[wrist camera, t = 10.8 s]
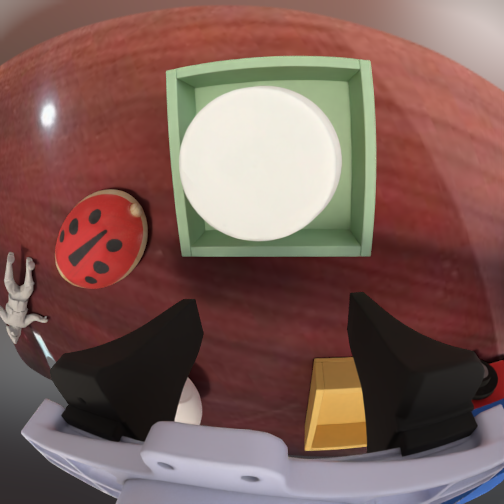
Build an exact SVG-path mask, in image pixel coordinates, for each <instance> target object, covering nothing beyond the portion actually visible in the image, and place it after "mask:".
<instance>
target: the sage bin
mask: <svg viewBox="0 0 504 504" xmlns="http://www.w3.org/2000/svg"><path fill="white" fill-rule="evenodd" d="M254 86H276V87H281V88H285V89H289V90H292V91H294V92H296V93H299V94H301V95H303V96H304V97H306V98H308V99H309V100H311V101H312V102H313V103H314V104H316V105H317V106H318V107H319V108H320V109H321V110H322V111H323V112H324V114H325V115H326V116H327V117H328V119H329V120H330V122H331V123H332V125H333V127H334V129H335V131H336V134H337V136H338V139H339V143H340V147H341V154H342V168H341V175H340V180H339V183H338V186H337V189H336V191H335V193H334V195H333V197H332V199H331V200H330V202H329V203H328V205H327V206H326V207H325V209H324V210H323V211H322V212H321V213H320V214H319V215H318V216H317V217H316V218H315V219H313V220H312V221H311V222H310V223H309V224H308V225H306V226H305V227H304V228H302V229H301V230H299V231H297V232H295V233H293V234H291V235H289V236H286V237H283V238H279V239H275V240H270V241H248V240H242V239H237V238H234V237H231V236H229V235H226V234H224V233H222V232H220V231H219V230H217V229H215V228H214V227H212V226H211V225H209V224H208V223H207V222H206V221H205V220H204V219H203V218H202V217H201V216H200V215H199V214H198V213H197V212H196V211H195V209H194V208H193V207H192V205H191V204H190V202H189V200H188V198H187V196H186V194H185V192H184V189H183V186H182V183H181V179H180V172H179V154H180V148H181V144H182V141H183V138H184V135H185V133H186V130H187V128H188V126H189V125H190V123H191V122H192V120H193V119H194V117H195V116H196V115H197V114H198V113H199V111H200V110H201V109H203V108H204V107H205V106H206V105H207V104H208V103H210V102H211V101H213V100H214V99H216V98H217V97H219V96H221V95H223V94H225V93H228V92H230V91H233V90H236V89H241V88H247V87H254ZM166 88H167V113H168V130H169V145H170V158H171V169H172V180H173V189H174V199H175V207H176V216H177V223H178V231H179V238H180V245H181V252H182V256H198V257H336V256H371V248H372V237H373V225H374V211H375V191H376V123H375V104H374V91H373V80H372V70H371V62H370V61H369V60H361V59H360V60H359V59H352V58H340V57H323V56H273V57H256V58H244V59H234V60H225V61H218V62H211V63H204V64H198V65H193V66H187V67H182V68H177V69H173V70H168V71H166Z"/></svg>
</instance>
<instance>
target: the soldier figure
mask: <svg viewBox="0 0 504 504" xmlns="http://www.w3.org/2000/svg"><path fill="white" fill-rule="evenodd" d="M14 259H15V258H14V253H12V252H9V254H8V258H7V266H6V272H5V279H4V282H5V286H6V288H7V290H8V292H9V302H8V303H7V304H6V310H5V309H3V308H2V307H1V306H0V316H1V318H2V319H3V321H4V322H5V323H6V324H9V325H10V327H8V326H6V328H7V331H8V334H9V336H10V337H11V340H12V341H13V342H14V343H15V344H16V343H17V342H18V338H19V336H20V335H21V328H20V327H26V326H27V325H29V324H30V323H31V322H33V321H39V322H43V323H45V322H47V321H48V320H46V317H47V316H46V317H44V318H43V317H42V316H40V315H38V314H33V313H32V314H29V315H26V314H27V310H28V308H27V302H28V298H29V297H30V295H31V294H32V292H33V285H34V282H33V279H32V271H31V270H33V269H34V267H35V263H34V262H33V261H32V258H29V257H27V260H26V276H25V282H24V284H23V285H21V286H18V285H17V284H16V283H15V281H14V279H13V270H12V263H13V262H14ZM6 311H7V312H6Z"/></svg>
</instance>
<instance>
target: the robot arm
mask: <svg viewBox="0 0 504 504" xmlns="http://www.w3.org/2000/svg"><path fill="white" fill-rule="evenodd" d="M347 330H348V337H349V343H350V348H351V352H352V355H353V359H354V362H355V366H356V369H357V373H358V377H359V380H360V384H361V389H362V394H363V402H364V410H365V421H366V435H367V453H366V454H359V455H352V456H343V457H333V458H322V459H301V458H293V457H288V448H287V446H286V445H285V443H284V442H283V440H282V439H280V438H278V437H276V436H274V435H271V434H269V433H267V432H261V431H255V430H248V429H232V428H220V427H210V426H202V425H194V424H187V423H181V422H174V421H175V416H176V412H177V408H178V404H179V401H180V397H181V394H182V390H183V388H184V385H185V383H186V380H187V378H188V376H189V373H190V371H191V369H192V366H193V364H194V362H195V359H196V357H197V355H198V352H199V349H200V346H201V342H202V338H203V334H204V333H203V329H202V325H201V321H200V317H199V313H198V309H197V305H196V300H195V299H183V300H181V301H180V302H178V303H176V304H175V305H173V306H172V307H170V308H169V309H168V310H166V311H165V312H163V313H162V314H160V315H159V316H157V317H156V318H154V319H153V320H151V321H150V322H148V323H146V324H145V325H143V326H142V327H140V328H138V329H137V330H135V331H133V332H131V333H129V334H127V335H125V336H123V337H121V338H118V339H116V340H113V341H111V342H108V343H106V344H103V345H100V346H97V347H94V348H90V349H86V350H82V351H76V352H71V353H65V354H63V355H62V356H61V358H60V359H59V360H58V361H57V362H56V363H55V364H54V366H53V367H52V368H51V370H50V374H51V378H52V381H53V382H54V384H55V386H56V387H57V388H58V390H59V392H60V393H61V394H62V396H63V397H64V399H65V400H66V401H67V403H68V404H69V405H68V406H67V407H66V409H65V408H64V407H63V406H61V405H60V404H57V403H55V402H53V401H51V400H49V399H45V400H44V401H43V403H42V404H41V405H40V406H39V408H38V409H37V411H36V412H35V413H34V414H33V416H32V417H31V419H30V420H29V421H28V423H27V424H26V426H25V427H24V428H23V430H22V431H21V434H22V435H23V436H24V437H25V438H26V439H27V440H28V441H29V442H30V443H31V444H32V445H33V446H34V447H35V448H36V449H37V450H38V451H39V452H40V453H41V454H42V455H43V456H45V457H46V458H47V459H48V460H49V461H50V462H51V463H53V464H55V465H56V466H58V467H59V468H61V469H63V470H64V471H66V472H68V473H69V474H71V475H73V476H75V477H76V478H78V479H80V480H82V481H84V482H86V483H87V484H89V485H91V486H93V487H95V488H97V489H99V490H101V491H102V492H104V493H107V494H109V495H111V496H113V497H115V498H118V500H117V502H116V504H440V503H442V502H445V501H447V500H449V499H452V498H454V497H456V496H458V495H461V494H463V493H465V492H467V491H469V490H471V489H473V488H475V487H477V486H479V485H481V484H483V483H485V482H487V481H489V480H490V479H491V478H492V477H494V476H495V475H496V474H497V473H498V472H499V471H501V470H502V469H503V468H504V409H503V407H502V405H501V404H499V405H497V406H495V407H492V408H490V409H488V410H485V411H483V412H481V413H479V414H478V415H477V416H475V417H474V416H473V414H472V412H471V411H473V410H474V405H473V403H472V401H471V400H472V399H473V397H474V395H475V394H476V392H477V390H478V388H479V387H480V385H481V383H482V380H483V378H484V373H485V370H484V366H483V365H482V363H481V361H480V360H479V358H478V357H477V355H476V354H475V352H474V351H471V350H467V349H462V348H458V347H454V346H450V345H447V344H444V343H441V342H438V341H436V340H433V339H431V338H429V337H426V336H424V335H422V334H420V333H418V332H416V331H415V330H413V329H411V328H409V327H408V326H406V325H404V324H403V323H401V322H400V321H398V320H397V319H396V318H394V317H393V316H391V315H390V314H389V313H388V312H386V311H385V310H384V309H383V308H381V307H380V306H379V305H378V304H377V303H375V302H374V301H373V300H372V299H371V298H370V297H369V296H367V295H366V294H365V293H364V292H356V293H350V302H349V316H348V327H347Z"/></svg>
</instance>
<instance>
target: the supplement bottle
mask: <svg viewBox="0 0 504 504" xmlns="http://www.w3.org/2000/svg"><path fill="white" fill-rule="evenodd" d="M341 168H342V154H341V147H340V143H339V139H338V136H337V134H336V131H335V129H334V127H333V125H332V123H331V122H330V120H329V119H328V117H327V116H326V115H325V114H324V112H323V111H322V110H321V109H320V108H319V107H318V106H317V105H316V104H314V103H313V102H312V101H311V100H309V99H308V98H306V97H304V96H303V95H301V94H299V93H296V92H294V91H292V90H289V89H285V88H281V87H276V86H254V87H247V88H241V89H236V90H233V91H230V92H228V93H225V94H223V95H221V96H219V97H217V98H216V99H214V100H213V101H211V102H210V103H208V104H207V105H206V106H205V107H204V108H203V109H201V110H200V111H199V113H198V114H197V115H196V116H195V117H194V119H193V120H192V122H191V123H190V125H189V126H188V128H187V130H186V133H185V135H184V138H183V141H182V144H181V148H180V154H179V172H180V179H181V183H182V186H183V189H184V192H185V194H186V196H187V198H188V200H189V202H190V204H191V205H192V207H193V208H194V209H195V211H196V212H197V213H198V214H199V215H200V216H201V217H202V218H203V219H204V220H205V221H206V222H207V223H208V224H209V225H211V226H212V227H214V228H215V229H217V230H219V231H220V232H222V233H224V234H226V235H229V236H231V237H234V238H237V239H242V240H248V241H270V240H275V239H279V238H283V237H286V236H289V235H291V234H293V233H295V232H297V231H299V230H301V229H302V228H304V227H305V226H306V225H308V224H309V223H310V222H311V221H312V220H313V219H315V218H316V217H317V216H318V215H319V214H320V213H321V212H322V211H323V210H324V209H325V207H326V206H327V205H328V203H329V202H330V200H331V199H332V197H333V195H334V193H335V191H336V189H337V186H338V183H339V180H340V175H341Z"/></svg>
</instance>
